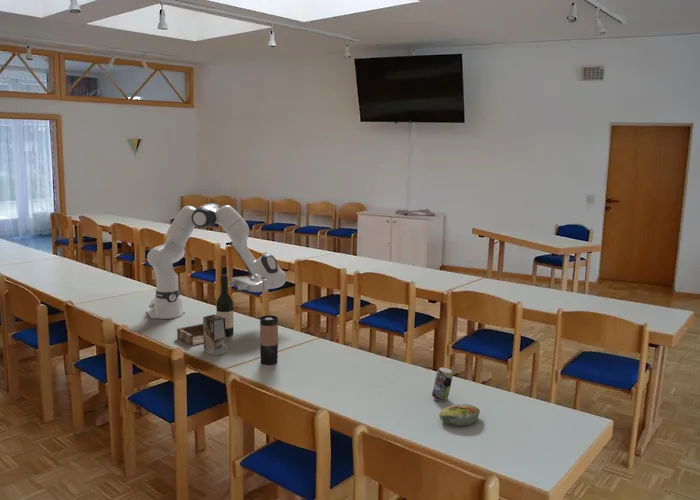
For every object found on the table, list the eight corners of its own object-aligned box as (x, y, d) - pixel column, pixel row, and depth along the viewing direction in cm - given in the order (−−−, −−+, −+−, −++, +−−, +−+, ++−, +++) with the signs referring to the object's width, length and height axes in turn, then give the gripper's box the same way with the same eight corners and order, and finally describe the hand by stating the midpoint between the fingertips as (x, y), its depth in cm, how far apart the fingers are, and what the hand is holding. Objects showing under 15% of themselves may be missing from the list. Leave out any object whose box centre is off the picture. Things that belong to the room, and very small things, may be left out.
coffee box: (226, 352, 277) (226, 318, 274) (214, 356, 273) (214, 321, 270) (214, 347, 283) (214, 314, 280) (203, 350, 279) (202, 316, 276)
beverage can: (430, 395, 235) (431, 366, 233) (449, 395, 236) (450, 365, 234) (433, 402, 229) (435, 372, 227) (453, 402, 230) (454, 372, 227)
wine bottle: (235, 332, 306) (235, 273, 301) (231, 337, 298) (230, 277, 293) (219, 331, 307) (218, 272, 302) (214, 336, 299) (213, 276, 293)
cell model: (431, 412, 216) (464, 390, 221) (440, 431, 217) (472, 409, 222) (447, 418, 206) (482, 396, 211) (456, 439, 207) (490, 416, 212)
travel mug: (280, 360, 269) (280, 316, 265) (273, 366, 262) (273, 321, 258) (265, 358, 271) (264, 314, 268) (257, 364, 264) (256, 319, 260)
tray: (177, 338, 295) (177, 328, 294) (204, 332, 304) (204, 323, 303) (191, 346, 284) (190, 336, 283) (219, 340, 293) (218, 330, 293)
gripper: (246, 272, 318) (222, 275, 309) (268, 280, 302) (244, 283, 293) (246, 284, 319) (222, 288, 310) (268, 292, 304) (244, 296, 295)
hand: (233, 286), depth 301 cm, fingers open, 8 cm apart
